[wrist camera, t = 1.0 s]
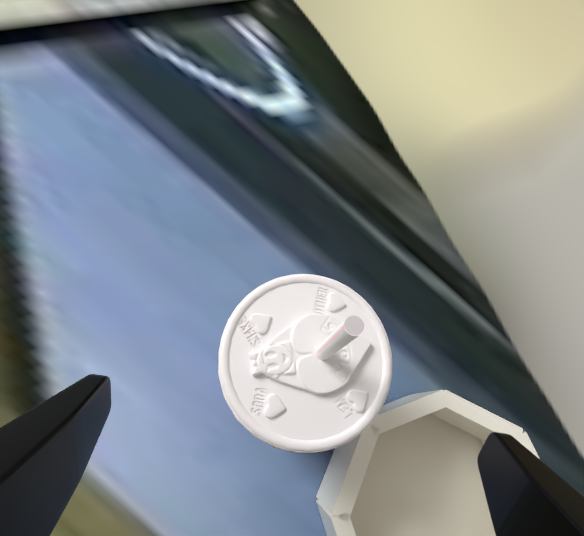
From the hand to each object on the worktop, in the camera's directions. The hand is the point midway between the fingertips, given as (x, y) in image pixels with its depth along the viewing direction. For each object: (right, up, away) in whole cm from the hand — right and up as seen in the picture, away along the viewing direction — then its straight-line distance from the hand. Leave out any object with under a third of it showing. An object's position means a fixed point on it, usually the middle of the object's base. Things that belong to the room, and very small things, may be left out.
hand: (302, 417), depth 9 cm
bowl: (+7, -9, +12) cm, 17 cm away
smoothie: (-1, -3, +14) cm, 14 cm away
